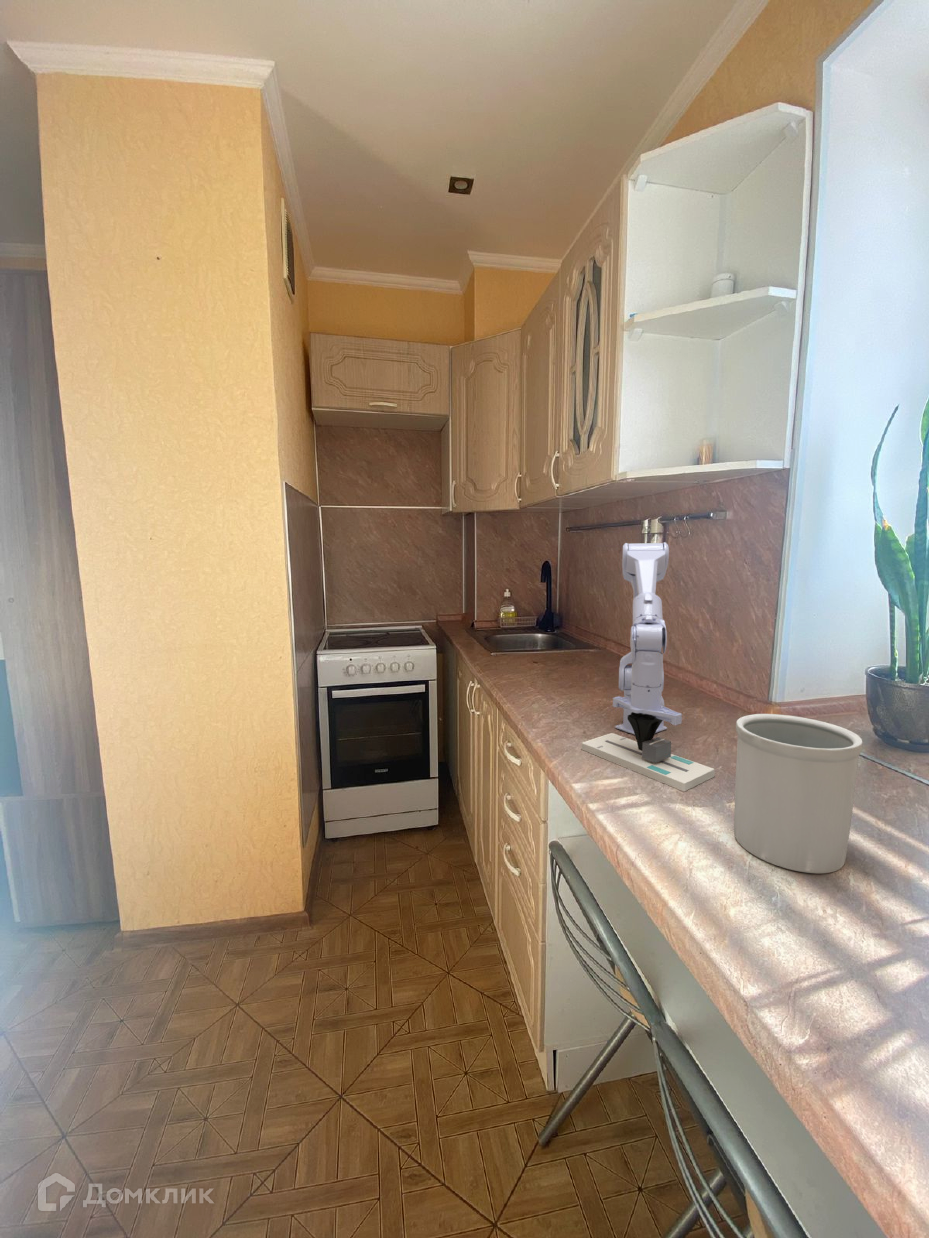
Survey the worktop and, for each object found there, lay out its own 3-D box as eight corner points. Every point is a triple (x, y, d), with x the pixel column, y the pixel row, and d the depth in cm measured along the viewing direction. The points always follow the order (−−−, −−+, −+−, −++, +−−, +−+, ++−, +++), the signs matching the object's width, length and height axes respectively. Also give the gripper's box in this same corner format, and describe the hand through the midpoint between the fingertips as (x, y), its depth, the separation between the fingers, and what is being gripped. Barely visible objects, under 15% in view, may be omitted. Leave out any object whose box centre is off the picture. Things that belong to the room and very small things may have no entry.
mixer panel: (611, 739, 115) (611, 732, 115) (714, 776, 96) (714, 768, 96) (581, 749, 110) (581, 742, 109) (684, 791, 90) (684, 783, 90)
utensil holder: (740, 808, 84) (747, 706, 82) (853, 839, 75) (864, 725, 72) (718, 849, 73) (725, 732, 71) (847, 892, 64) (860, 759, 61)
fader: (657, 751, 103) (657, 736, 102) (670, 756, 100) (671, 740, 100) (642, 757, 100) (642, 741, 100) (655, 763, 98) (656, 746, 97)
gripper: (603, 679, 104) (602, 742, 106) (667, 695, 92) (664, 766, 94) (625, 674, 108) (623, 735, 110) (689, 689, 96) (686, 757, 98)
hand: (644, 749), depth 102 cm, fingers closed
